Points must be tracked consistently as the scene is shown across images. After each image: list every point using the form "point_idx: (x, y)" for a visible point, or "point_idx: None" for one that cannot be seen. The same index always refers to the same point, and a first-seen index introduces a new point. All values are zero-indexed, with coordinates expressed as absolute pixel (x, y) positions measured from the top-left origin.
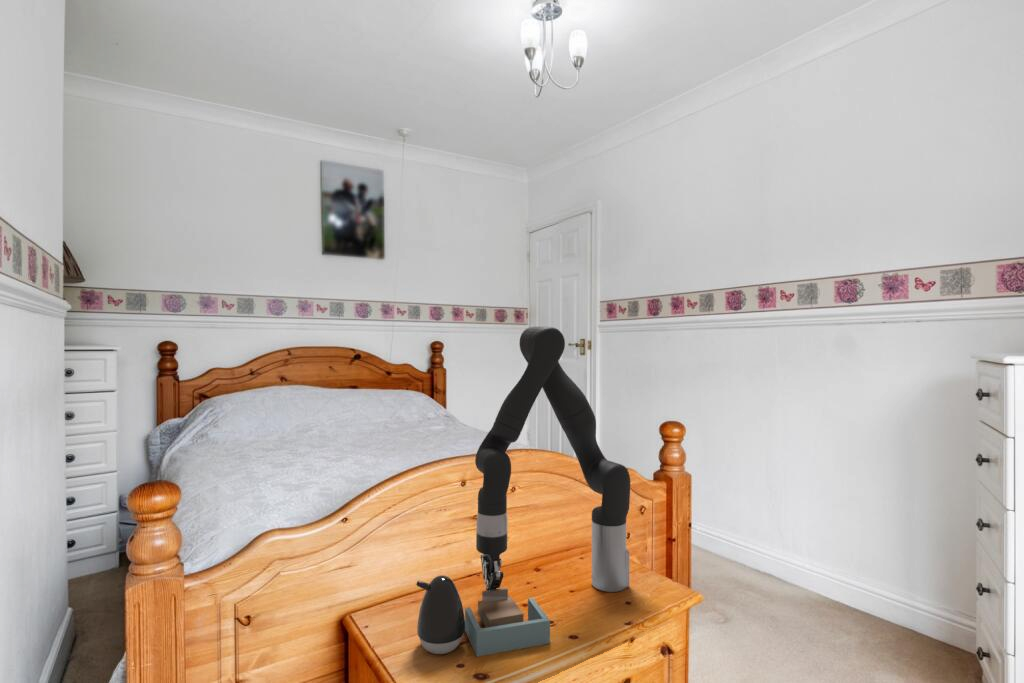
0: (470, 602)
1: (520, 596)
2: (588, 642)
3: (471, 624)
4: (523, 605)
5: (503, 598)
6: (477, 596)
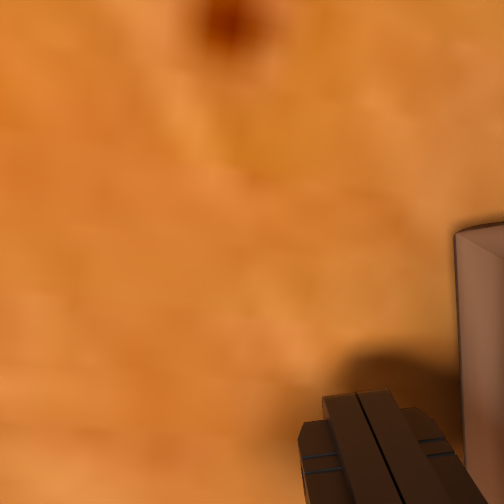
0: (121, 496)
1: (28, 35)
2: None
3: None
4: (240, 43)
5: None
6: (14, 441)
